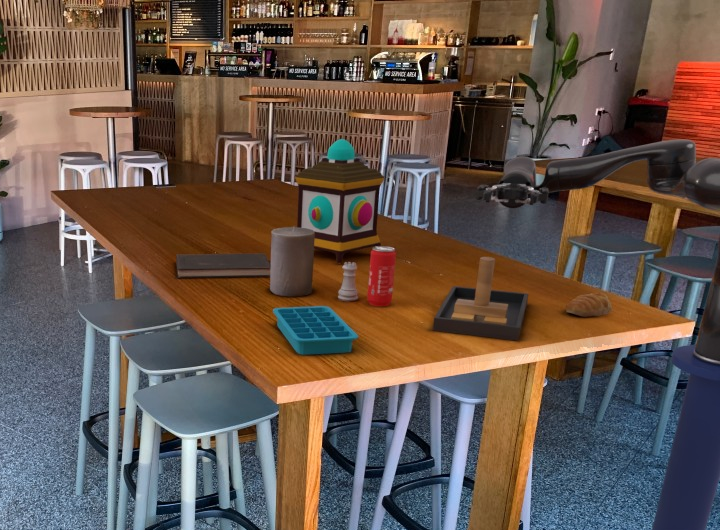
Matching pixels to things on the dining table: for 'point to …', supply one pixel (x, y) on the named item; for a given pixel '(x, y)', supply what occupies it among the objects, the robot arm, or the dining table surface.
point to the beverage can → (381, 276)
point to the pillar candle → (292, 261)
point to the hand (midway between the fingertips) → (509, 198)
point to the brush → (482, 295)
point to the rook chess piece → (348, 283)
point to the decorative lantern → (340, 201)
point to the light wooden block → (463, 316)
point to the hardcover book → (222, 265)
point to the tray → (508, 331)
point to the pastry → (589, 305)
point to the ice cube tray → (315, 330)
